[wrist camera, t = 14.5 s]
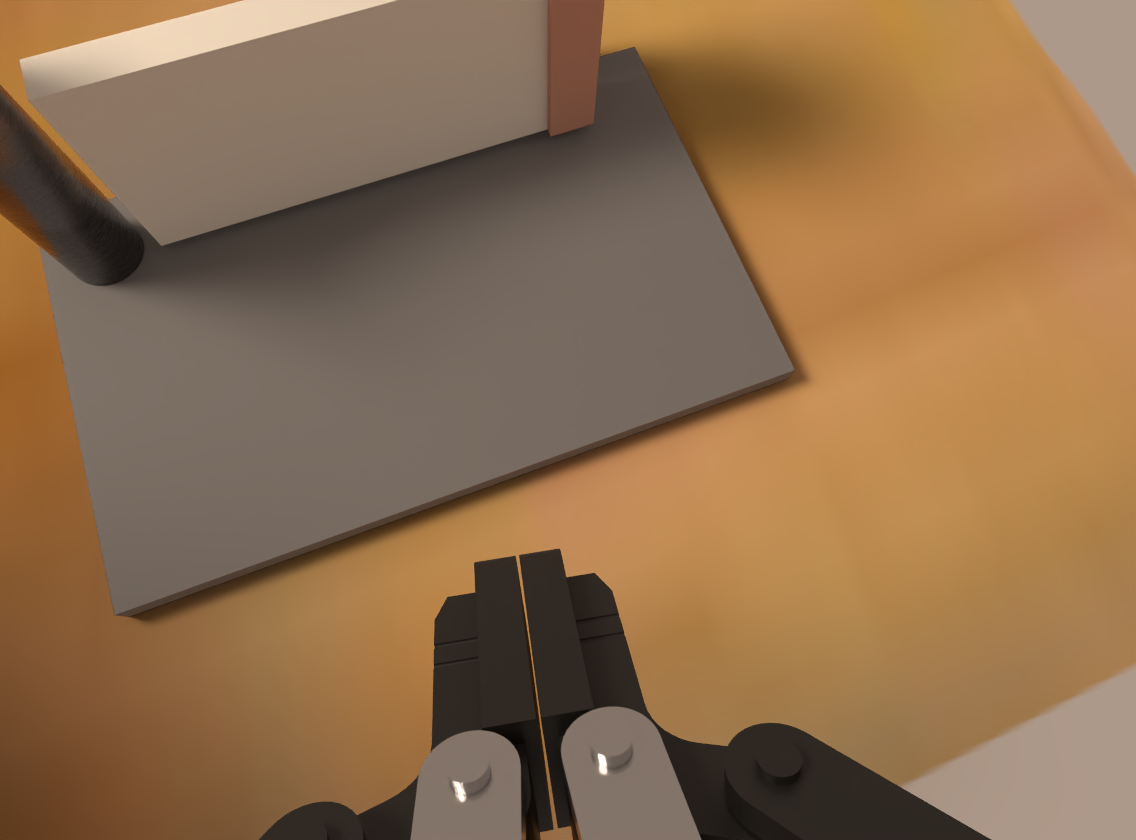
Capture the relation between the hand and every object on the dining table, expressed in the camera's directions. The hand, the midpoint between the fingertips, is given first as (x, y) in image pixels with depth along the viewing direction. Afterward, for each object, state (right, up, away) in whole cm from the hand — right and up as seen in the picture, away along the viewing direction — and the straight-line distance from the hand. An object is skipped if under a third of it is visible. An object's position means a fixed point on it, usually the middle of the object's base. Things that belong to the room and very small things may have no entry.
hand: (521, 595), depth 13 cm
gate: (-7, +14, +19) cm, 25 cm away
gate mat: (-6, +8, +19) cm, 21 cm away
